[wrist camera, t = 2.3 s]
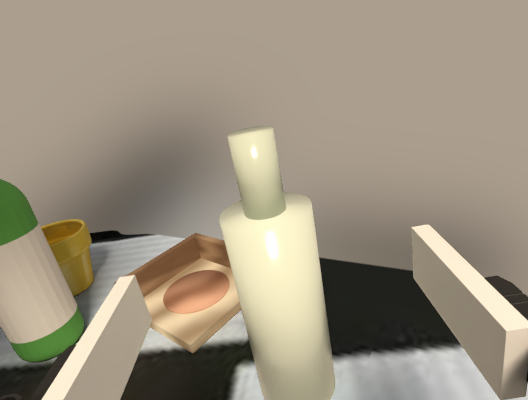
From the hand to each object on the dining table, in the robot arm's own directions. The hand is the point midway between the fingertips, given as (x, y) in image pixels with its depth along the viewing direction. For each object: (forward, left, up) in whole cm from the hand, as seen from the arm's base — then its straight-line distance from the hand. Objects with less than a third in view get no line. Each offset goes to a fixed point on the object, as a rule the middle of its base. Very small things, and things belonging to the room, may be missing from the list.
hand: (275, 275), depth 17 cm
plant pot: (-48, +4, -19) cm, 52 cm away
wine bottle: (-37, -3, -19) cm, 42 cm away
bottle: (-7, +8, -19) cm, 22 cm away
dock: (-26, +12, -19) cm, 34 cm away
